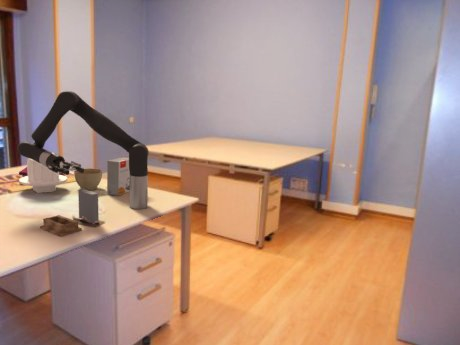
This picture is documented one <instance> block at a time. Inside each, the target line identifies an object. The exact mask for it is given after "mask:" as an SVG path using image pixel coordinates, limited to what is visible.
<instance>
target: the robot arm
mask: <svg viewBox="0 0 460 345" xmlns="http://www.w3.org/2000/svg"><path fill="white" fill-rule="evenodd" d="M69 111H70V112H72V113H74V114H75V115H76V116H79V117H80V118H81V119H82V120H83V121H84V122H85V123H86V124H87V126H89V127H90V128H91V129H92V130H93V131H94V132H96V134H98V135H99V136H101V137H102V138H103V139H105V140H107V141H109V142H111V143H113V144H116V145H117V146H120V148H122V149H123V150H125V151H126V152H127V153H128V158H129V171H130V192H129V208H130V209H134V210H142V209H148V202H149V201H148V196H149V195H148V193H149V192H148V191H149V190H148V186H149V185H148V181H149V178H148V177H149V169H148V158H149V157H148V156H149V149H148V147H147V145H145V144H144V143H142V142H140V141H139V140H137V139H135V138H134V137H132V136H131V135H129V134H128V133H127V132H126V131H124V129H122V128H121V127H120V126H118V125H117V123H115V122H113V121H112V119H110V118H109V117H107V116H105V115H104V114H103V113H101V112H100V111H99V110H97V109H95V108H93V107H92V106H91V105H89V103H87V101H85V100H84V99H83V98H82V97H80V95H78V94H77V93H75V91H72V90H70V91H69V90H64V91H61V92H60V93H59V94H58V95H57V97H56V99H55V101H54V103H53V105H52V107H51V108H50V110H49V111H48V113H47V115H46V116H45V117H44V118H43V119H42V121H41V122H40V123H39V124H38V126H37V127H36V128H35V130H34V131H33V132H32V133H31V136H30V137H31V140H32V141H34V142H33V143H32V142H28V141H22V142H20V143H18V145H17V147H16V148H17V152H18V155H20V156H22V157H24V158H27V159H28V158H30V159H33V160H35V161H37V162H38V163H41V164H42V165H44V166H46V167H48V169H50V170H52V171H53V172H55V173H58V172H60V173H63V174H64V175H65V176H69V175H70V171H71V172H72V171H73V172H74V171H75V170H76V171H78V172H81V173H84V169H85V168H84V167H82V164H80V163H78V162H76V161H72V160H70V162H69V161H66V159H65V158H64V157H63V156H62V155H59V154H58V153H55V152H53V151H50V150H47V149H45V148H44V147H45V144H46V143H47V141H48V139H49V138H50V137H51V136H52V134H53V133H54V131H56V128H57V126H58V124H59V122H60V121H61V120H62V118H64V116H65V115H66V114H67V113H68V112H69Z"/></svg>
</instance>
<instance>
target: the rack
mask: <svg viewBox="0 0 460 345" xmlns="http://www.w3.org/2000/svg"><path fill="white" fill-rule="evenodd" d="M42 222H43V224H42V225H39V229H40V230H44V231H47V232H49V233H51V234H53V235H56V236H58V237H60V238H61V237H65V236H68V235H71V234H75V233H77V232H80V231H83V228H82V227H80V226H79V221H78V220H74V219H72V218H69V217H67V216H64V215H60V214H58V215H53V216H51V217H47V218H43V221H42Z"/></svg>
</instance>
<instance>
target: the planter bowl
mask: <svg viewBox="0 0 460 345" xmlns="http://www.w3.org/2000/svg"><path fill="white" fill-rule="evenodd" d="M103 172H104V171H103V169H100V168H91V167H90V168H89V167H88V168H84V173H81V172H78V171H76V170H73V174H74V179H75V182H76V184H77V185H78V186H79V188H80V190H88V191H93V190H97V189H98V186H99V185H100V183H101V181H102V179H103V178H102V177H103Z"/></svg>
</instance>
